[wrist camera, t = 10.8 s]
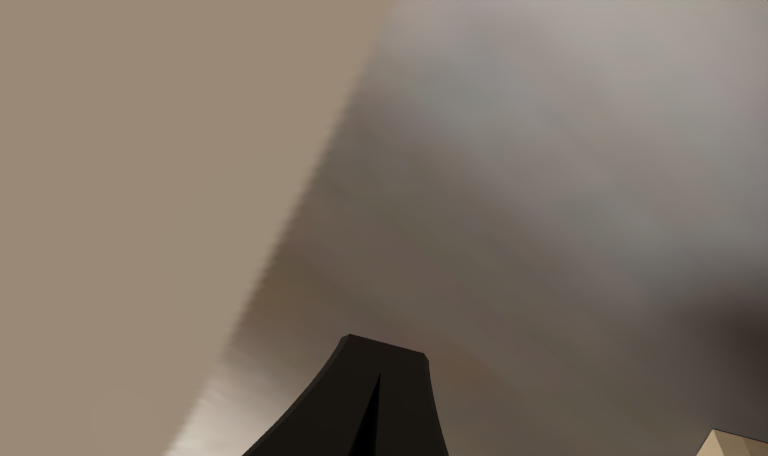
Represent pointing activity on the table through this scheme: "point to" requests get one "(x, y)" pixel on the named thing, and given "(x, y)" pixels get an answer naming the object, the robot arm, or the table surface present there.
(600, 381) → the table surface
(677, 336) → the table surface
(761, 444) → the block
